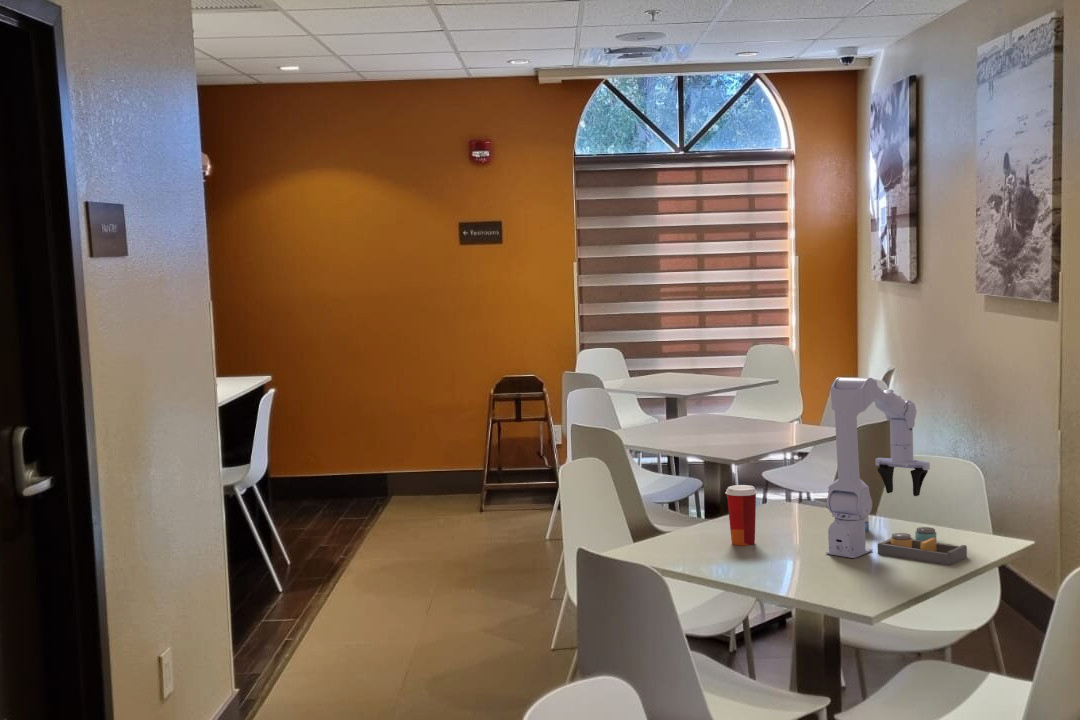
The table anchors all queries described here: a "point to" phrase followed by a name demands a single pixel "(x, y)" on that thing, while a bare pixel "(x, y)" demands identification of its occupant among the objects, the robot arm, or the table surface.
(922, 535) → the teal jar
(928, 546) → the plate
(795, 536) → the table surface
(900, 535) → the amber jar
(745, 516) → the coffee cup
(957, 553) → the grey rectangular tray
